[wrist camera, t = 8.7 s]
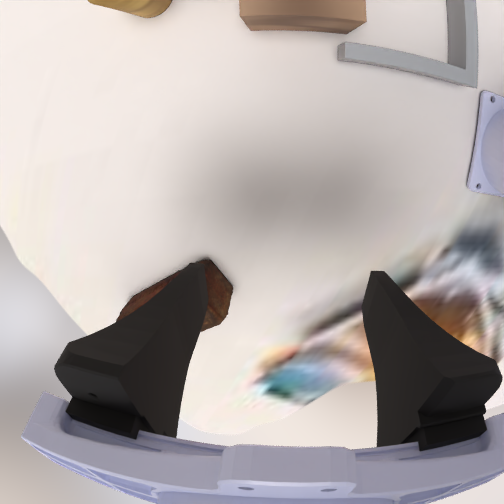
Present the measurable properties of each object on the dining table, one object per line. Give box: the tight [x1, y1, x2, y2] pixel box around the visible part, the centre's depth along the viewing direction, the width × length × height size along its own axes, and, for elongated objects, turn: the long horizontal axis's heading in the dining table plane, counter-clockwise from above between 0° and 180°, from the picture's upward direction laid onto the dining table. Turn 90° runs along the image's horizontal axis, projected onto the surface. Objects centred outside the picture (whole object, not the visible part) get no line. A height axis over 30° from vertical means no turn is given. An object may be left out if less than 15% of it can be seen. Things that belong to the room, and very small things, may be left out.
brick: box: [116, 260, 233, 332], centre depth 26 cm, size 11×4×5 cm, turn 124°
